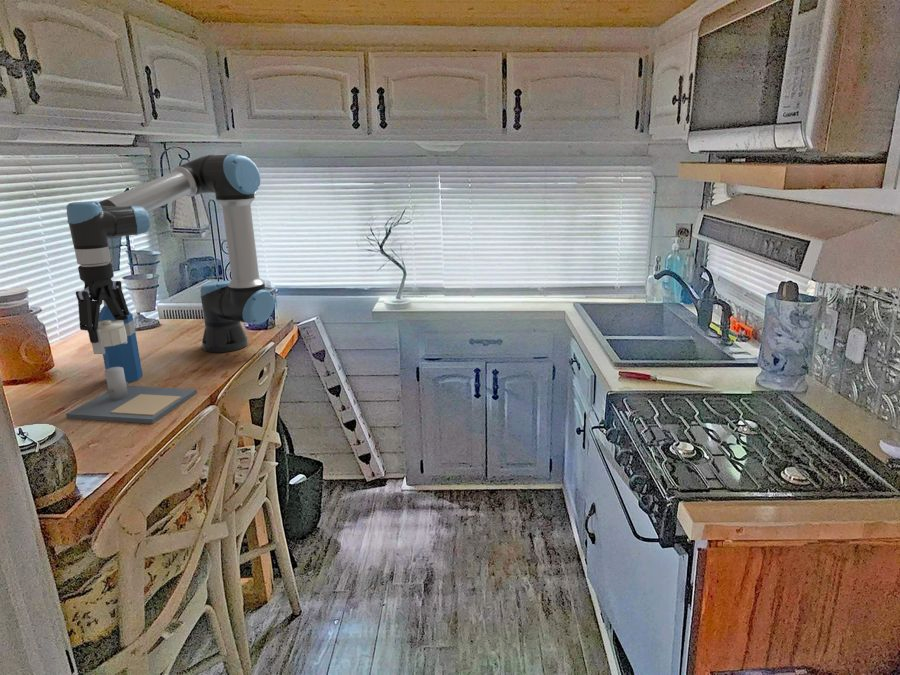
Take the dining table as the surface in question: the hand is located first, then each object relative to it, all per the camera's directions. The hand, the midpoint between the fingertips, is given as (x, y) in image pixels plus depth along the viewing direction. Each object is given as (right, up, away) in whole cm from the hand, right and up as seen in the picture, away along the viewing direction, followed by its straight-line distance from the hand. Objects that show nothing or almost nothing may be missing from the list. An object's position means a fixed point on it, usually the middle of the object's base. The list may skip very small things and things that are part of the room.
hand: (111, 348), depth 155 cm
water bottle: (-8, -10, +21) cm, 24 cm away
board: (+6, -15, +2) cm, 16 cm away
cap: (0, +2, -1) cm, 2 cm away
